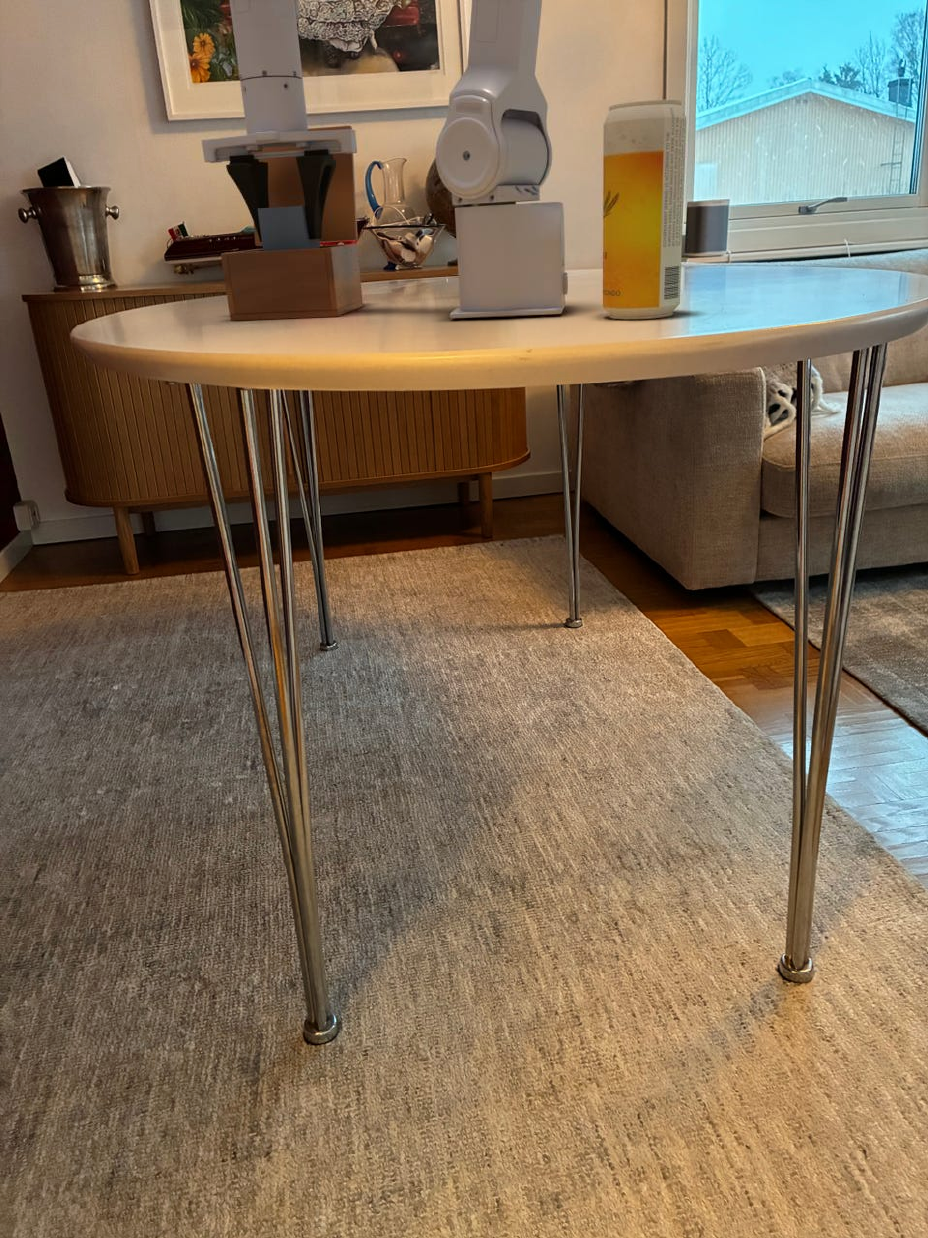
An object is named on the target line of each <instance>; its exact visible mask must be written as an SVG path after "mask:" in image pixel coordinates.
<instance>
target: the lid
mask: <svg viewBox="0 0 928 1238" xmlns="http://www.w3.org/2000/svg"><path fill="white" fill-rule="evenodd" d="M340 129H352V130H353V127H352V126H351V125H339V126H325V127H314V128H312V127H311V128H308V131H318V130H340ZM307 149H310V148H297V146H286V147H266V148H263V151H260V152H251V153H265V152H279V151H293V150H307ZM332 155H333V159H334V160H336V168H335V171H334V174H333V177H332V179H331V183H330V186H329V189H328V193H327V197H326V201H325V207H324V213H323V220H322V238H321V239H319V243H335V242H337V243H338V242H353V241H359V240H358V221H357V202H356V201H357V198H356V181H355V161H354V160H355V159H354V153H349V154H346V153H339V154H332ZM296 157H298V156H296ZM296 157H282V158H267V159H259V162H268V196H269V208H274V207H291V206H305V200H304V194H303V188H302V183H301V178H300V174H299V169H298V165H297V161H296ZM253 233H254V243H255V246H257V247H263V246H262V242H260V240H259V236H258V233H257V230H256V227H255V224H254V223H253Z"/></svg>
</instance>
